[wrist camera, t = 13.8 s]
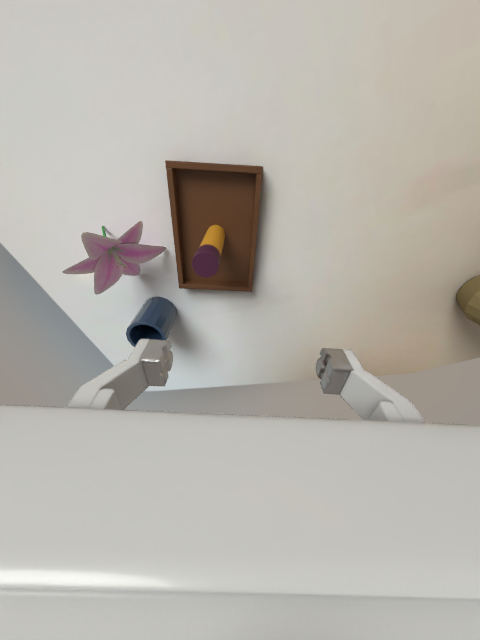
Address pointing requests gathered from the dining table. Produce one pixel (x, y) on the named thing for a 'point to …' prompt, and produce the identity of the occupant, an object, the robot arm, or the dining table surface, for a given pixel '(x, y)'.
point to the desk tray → (215, 220)
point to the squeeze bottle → (470, 299)
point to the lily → (114, 257)
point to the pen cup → (152, 321)
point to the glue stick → (209, 252)
